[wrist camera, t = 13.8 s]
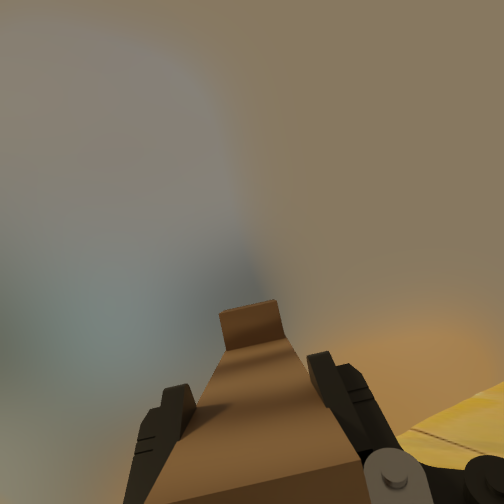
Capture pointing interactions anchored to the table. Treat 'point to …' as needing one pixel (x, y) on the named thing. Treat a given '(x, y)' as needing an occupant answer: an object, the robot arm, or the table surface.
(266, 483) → the brown wooden bar
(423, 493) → the robot arm
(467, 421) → the table surface
